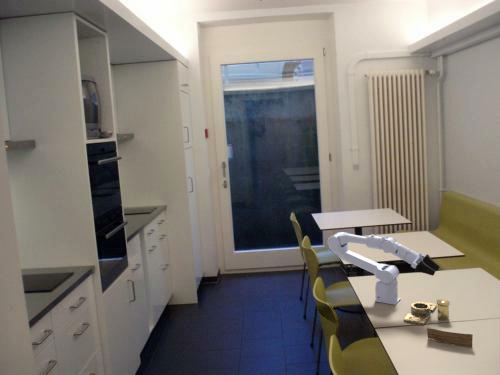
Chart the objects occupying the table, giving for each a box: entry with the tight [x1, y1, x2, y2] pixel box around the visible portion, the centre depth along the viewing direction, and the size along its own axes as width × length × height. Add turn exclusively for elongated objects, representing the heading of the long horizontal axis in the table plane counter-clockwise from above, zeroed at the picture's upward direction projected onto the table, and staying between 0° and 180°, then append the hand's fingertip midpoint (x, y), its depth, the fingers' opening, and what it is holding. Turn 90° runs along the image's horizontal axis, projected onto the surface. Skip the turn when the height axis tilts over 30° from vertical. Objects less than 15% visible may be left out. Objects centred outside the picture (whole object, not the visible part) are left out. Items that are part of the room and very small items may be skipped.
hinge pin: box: [436, 298, 451, 321], centre depth 195 cm, size 5×5×7 cm
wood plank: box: [426, 327, 473, 349], centre depth 173 cm, size 15×2×5 cm, turn 60°
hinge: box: [403, 300, 438, 326], centre depth 200 cm, size 8×22×4 cm, turn 146°
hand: (436, 271), depth 201 cm, fingers open, 7 cm apart
